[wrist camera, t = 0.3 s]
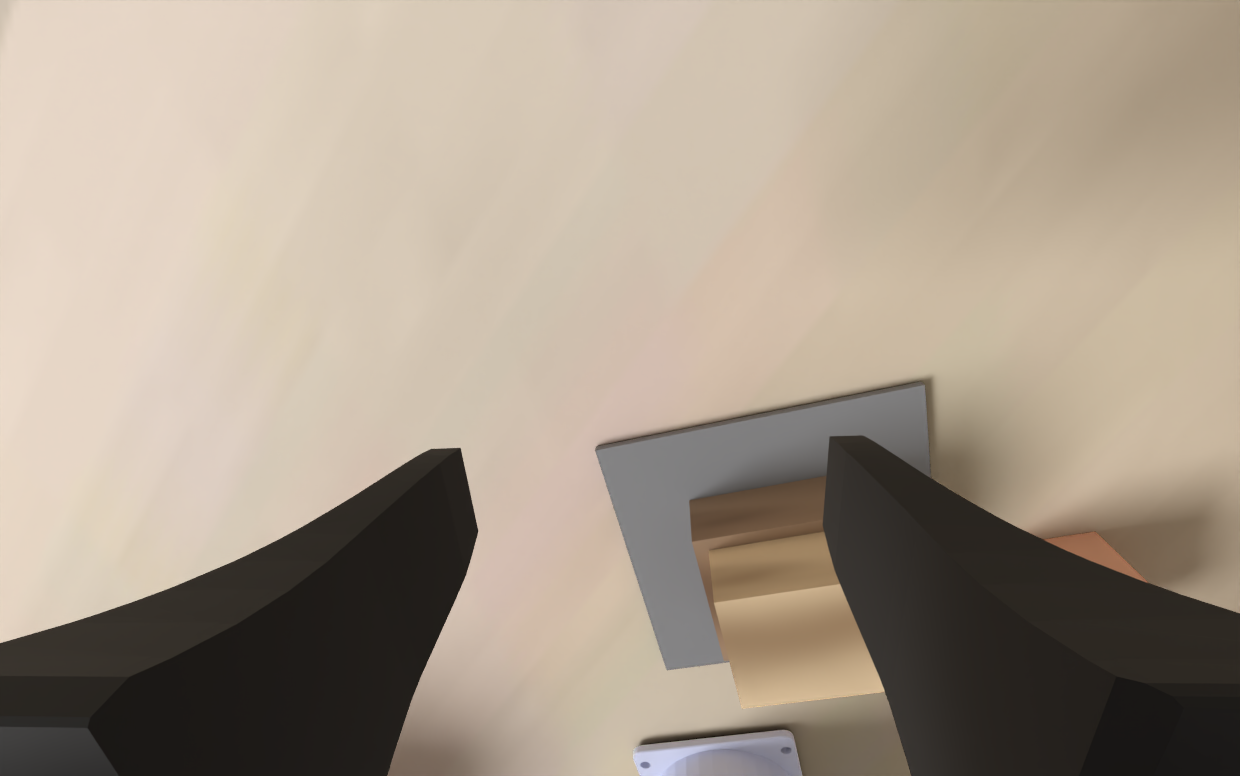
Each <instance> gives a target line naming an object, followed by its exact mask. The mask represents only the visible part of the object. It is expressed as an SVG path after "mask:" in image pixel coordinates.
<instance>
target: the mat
mask: <svg viewBox="0 0 1240 776" xmlns="http://www.w3.org/2000/svg"><path fill="white" fill-rule="evenodd" d="M858 435H863V436H865V437H867V438H869V439H871V440H872V441H874V442H876V443H877V444H879V445H880V446H882V447H884V448H885V449H887V450H888V451H890V452H891V453H893V454H894V455H896V456H897V457H899V458H900V459H902V460H903V461H905V462H907V463H908V464H910V465H911V466H913V467H914V468H916V469H917V470H919V471H920V472H922V473H923V474H925V475H927V476H928V477H930V478H931V470H930V455H929V440H928V425H927V410H926V395H925V385H924V384H923V383H922V382H916V383H911V384H906V385H901V386H896V387H891V388H886V389H881V390H876V391H871V392H866V393H861V394H856V395H851V396H846V397H841V398H836V399H831V400H826V401H821V402H816V403H811V404H806V405H801V406H796V407H791V408H786V409H781V410H776V411H771V412H766V413H761V414H756V415H751V416H746V417H741V418H736V419H731V420H726V421H721V422H716V423H711V424H706V425H701V426H696V427H691V428H686V429H681V430H676V431H671V432H666V433H661V434H656V435H652V436H647V437H642V438H637V439H632V440H627V441H622V442H617V443H612V444H607V445H602V446H597V447H596V449H595V451H596V454H597V457H598V461H599V464H600V467H601V470H602V473H603V476H604V479H605V482H606V485H607V488H608V491H609V494H610V497H611V500H612V504H613V507H614V510H615V513H616V516H617V519H618V522H619V525H620V528H621V531H622V534H623V537H624V540H625V543H626V547H627V550H628V553H629V556H630V559H631V562H632V565H633V568H634V571H635V574H636V577H637V580H638V583H639V586H640V590H641V593H642V596H643V599H644V602H645V605H646V608H647V611H648V614H649V617H650V620H651V623H652V626H653V630H654V633H655V636H656V639H657V642H658V645H659V648H660V651H661V654H662V657H663V660H664V663H665V666H666V669H667V670H672V669H680V668H688V667H695V666H703V665H711V664H718V663H726V662H729V661H724V659H723V656H722V652H721V648H720V645H719V641H718V637H717V633H716V630H715V626H714V622H713V619H712V615H711V611H710V607H709V604H708V600H707V596H706V593H705V589H704V585H703V582H702V578H701V574H700V570H699V567H698V563H697V559H696V556H695V552H694V548H693V544H692V537H691V522H690V506H689V500H694V499H700V498H705V497H711V496H717V495H722V494H728V493H733V492H739V491H744V490H750V489H756V488H761V487H767V486H772V485H778V484H784V483H789V482H795V481H800V480H806V479H811V478H817V477H823V476H826V475H827V462H828V449H829V437H830V436H858Z"/></svg>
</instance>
